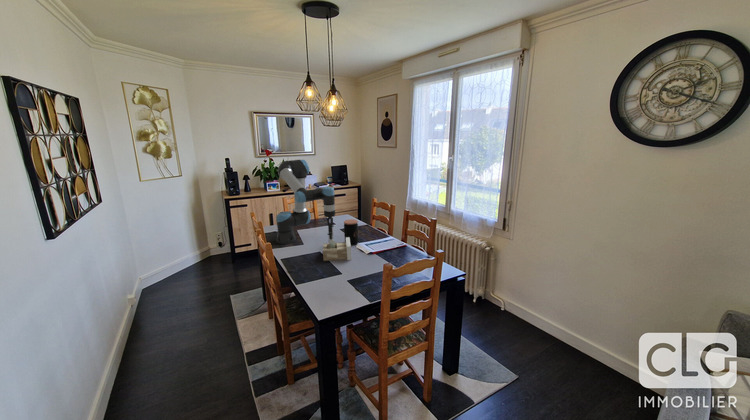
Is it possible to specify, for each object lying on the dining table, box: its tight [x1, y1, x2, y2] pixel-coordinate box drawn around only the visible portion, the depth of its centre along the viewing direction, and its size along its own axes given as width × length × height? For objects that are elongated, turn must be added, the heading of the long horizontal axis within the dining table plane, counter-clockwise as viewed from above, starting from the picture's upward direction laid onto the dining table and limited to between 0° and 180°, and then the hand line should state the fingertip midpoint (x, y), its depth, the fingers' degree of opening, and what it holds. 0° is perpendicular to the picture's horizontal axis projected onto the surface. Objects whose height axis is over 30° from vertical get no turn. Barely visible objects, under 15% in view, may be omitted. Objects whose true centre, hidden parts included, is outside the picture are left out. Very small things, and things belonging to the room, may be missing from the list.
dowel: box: [329, 239, 336, 249], centre depth 203 cm, size 4×4×10 cm
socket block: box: [322, 241, 347, 262], centre depth 204 cm, size 14×16×7 cm
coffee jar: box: [343, 219, 360, 246], centre depth 225 cm, size 11×11×18 cm
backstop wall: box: [346, 237, 352, 261], centre depth 204 cm, size 18×3×10 cm, turn 8°
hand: (331, 239), depth 201 cm, fingers open, 13 cm apart
